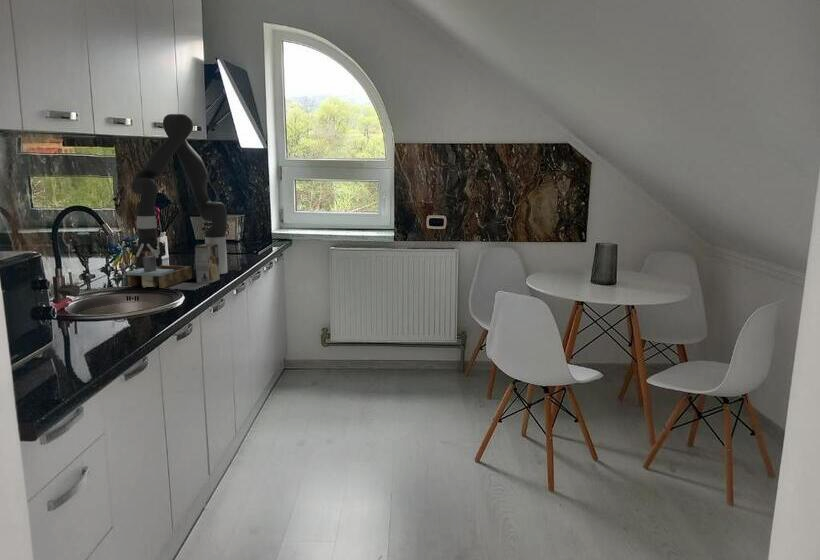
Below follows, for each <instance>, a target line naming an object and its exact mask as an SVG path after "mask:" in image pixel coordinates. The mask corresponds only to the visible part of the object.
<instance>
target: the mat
mask: <svg viewBox="0 0 820 560" xmlns="http://www.w3.org/2000/svg"><path fill="white" fill-rule="evenodd" d="M206 285H207V286H210V284H209V283H197V282H181V283H178V284H175V285H172V286H169V287H168V288H170V289H169V290H175V289H178V291H181V290H182V291H197V290H200V289H202V288H204V287H203V286H205V287H207V286H206ZM201 287H202V288H201ZM199 288H200V289H199ZM196 289H197V290H196Z"/></svg>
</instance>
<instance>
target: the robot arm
mask: <svg viewBox="0 0 820 560" xmlns="http://www.w3.org/2000/svg"><path fill="white" fill-rule="evenodd" d="M162 120H163V121H162V126H163V130H164V132H165V134H166V136H167V139H165V141H163V143H162V144H160V146H158V147H157V148H156V149H155V150H154V151H153V152H152V154H151V155H150V156H149V159H148V160H147V162H146V163H145V165H144V167H143V168H142V169H141V170H140V171H139V172H138V173H137V174H136V175H135V176H134V178H133V179H132V181H131V184H130V185H131V186H130V188H131V191H132V192H133V193H134V194H135V195H138V196H141V199H140V201H138V202H136V207H135V208H136V230H137V231H136V232H137V238H138V240H132V241H131V255H132V256H135V257H136V261H137V263H136V264H137V265H138V267H142V266H143V267H144V264H143V257H144V256H143V254H144V253H145V252H151V253H152V254H153V256H155V261H156V266H157V267H159V266H161V265H163V263H162V257H164V256H166V255H167V253H166V242H165V241H158V227H157V225H158V224H157V218H156V206H155V205H156V202H157V197H158V196H157V195H158V185H157V182H156V181H155V179H157V178H160V177H161V176H162V174H163V173H164V172H165V169H166V168H167V165H168V164H169V162H170V161H171V159H172V157H173V156H174V155H175V153H176V155H177V159H178V160H179V163H180V165H181V167H182V170H183V172H184V175H185V177H186V179H187V181H188V183H189V186H190V189H191V191H192V193H193V197H194V201H195V203H196V207H197V209H198V210H197V211H198V212H199V215H200V217H201V219H202V220H204V221H205V222H211V225H210V226H211V227H210V228H208V229H206V230H204V244H218V256H219V273H220V275H223V274H228V272H229V271H228V254H227V253H228V252H227V239H226V237H227V236H226V234H227V229H228V213H227V211H228V210H227V208H226V205H225V204H224V203H223V202H221V201H211V199H210V197H209V195H208V190H207V185H208V180H209V179H208V178H209V174H208V170H207V168H206V165H205V163H204V160H203V159H202V157H201V156H200V155H199V154H198V153H197V151H195V149H194V148H193V147H192V146H191V145H190V144H189V142H188V140H187V138H188V137H189V136H190V135H191V133H192V131H193V128H194V123H193V120H192V118H191V116H189V115H187V114H182V113H169V114H166V115H165V116H164V118H163V119H162ZM138 247H139V248H138Z"/></svg>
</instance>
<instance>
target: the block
mask: <svg viewBox="0 0 820 560" xmlns="http://www.w3.org/2000/svg"><path fill="white" fill-rule="evenodd" d="M142 286H143V287H142ZM156 286H157V287H159V276H142V284H141V287H142V288H146V287H154V288H156Z"/></svg>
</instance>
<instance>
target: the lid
mask: <svg viewBox="0 0 820 560" xmlns="http://www.w3.org/2000/svg"><path fill="white" fill-rule="evenodd" d="M142 257H143V267H141V268H137V269H135V270H134V269H133V270H130V271H127V272H125V275H126V276H128V275H140V276H162V275H165V274H168V273H171V272H174V269H156V256H155V255H147V256H142Z"/></svg>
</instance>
